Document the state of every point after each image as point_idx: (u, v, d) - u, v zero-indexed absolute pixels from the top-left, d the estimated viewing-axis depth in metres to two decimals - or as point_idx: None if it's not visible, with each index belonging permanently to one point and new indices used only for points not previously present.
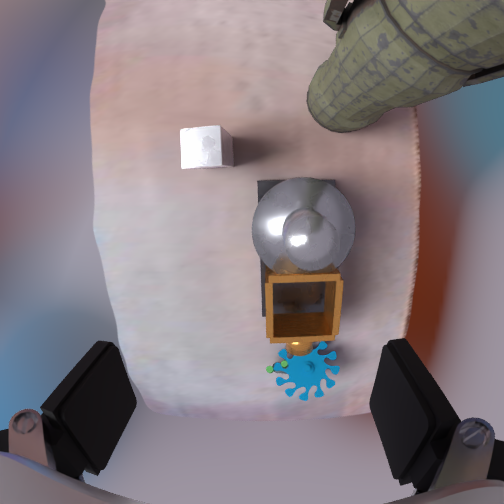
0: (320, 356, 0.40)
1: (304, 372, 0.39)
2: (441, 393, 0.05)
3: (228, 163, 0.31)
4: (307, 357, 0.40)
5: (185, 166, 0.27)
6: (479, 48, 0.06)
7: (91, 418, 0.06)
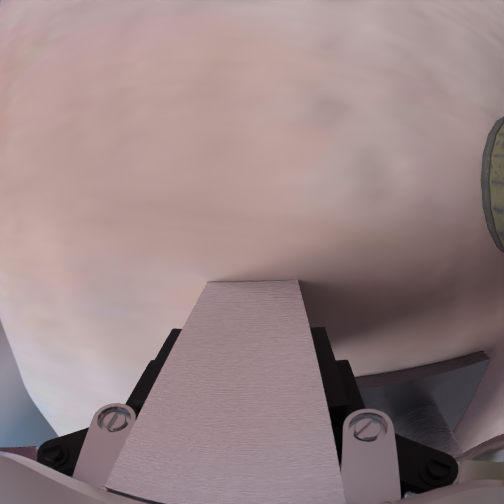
0: None
1: None
2: (339, 380, 0.07)
3: None
4: None
5: None
6: None
7: None
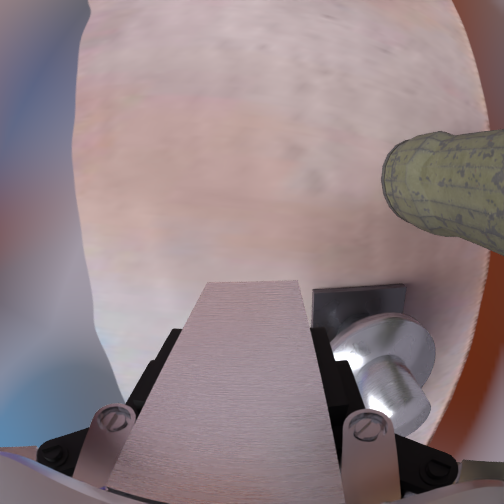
0: None
1: None
2: (339, 380, 0.07)
3: None
4: None
5: None
6: None
7: None
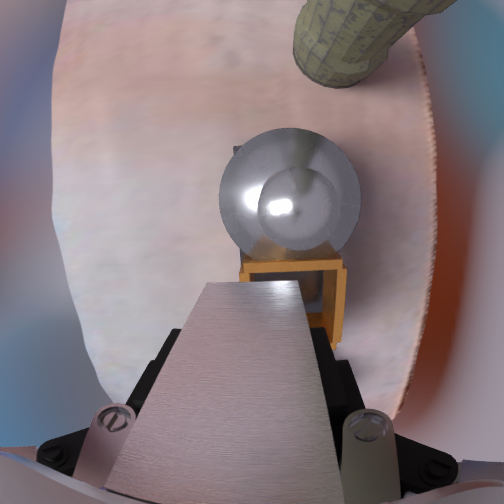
0: None
1: None
2: (339, 380, 0.07)
3: None
4: None
5: None
6: None
7: None
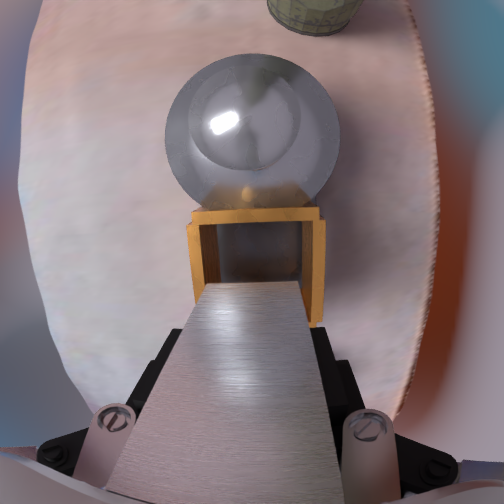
0: None
1: None
2: (339, 380, 0.07)
3: None
4: None
5: None
6: None
7: None
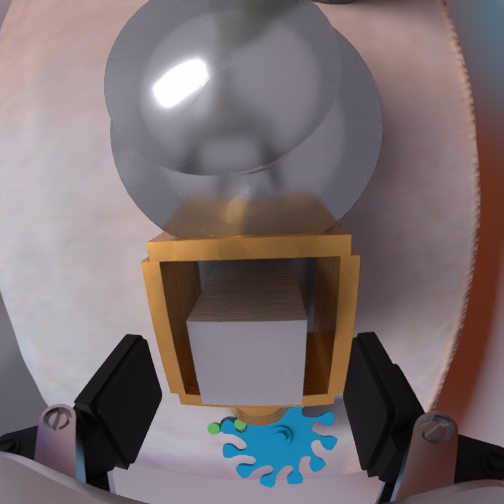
0: (306, 419, 0.21)
1: (274, 443, 0.20)
2: (403, 385, 0.06)
3: None
4: (282, 418, 0.21)
5: (210, 401, 0.10)
6: None
7: (123, 411, 0.07)
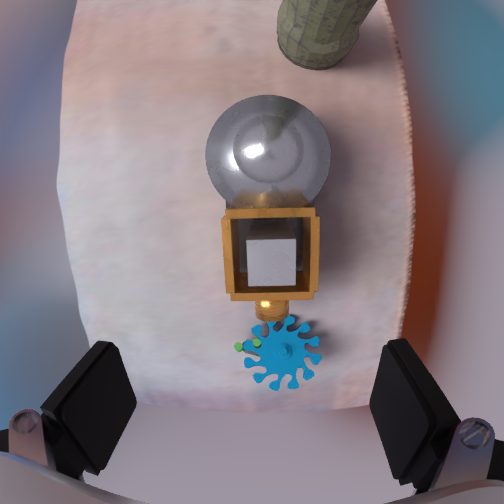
0: (300, 340, 0.35)
1: (279, 356, 0.34)
2: (441, 393, 0.05)
3: None
4: (285, 339, 0.35)
5: (252, 284, 0.24)
6: None
7: (91, 418, 0.06)
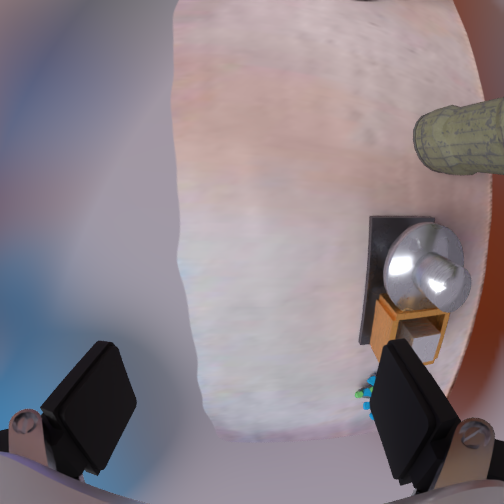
0: None
1: None
2: (441, 393, 0.05)
3: None
4: None
5: None
6: None
7: (91, 418, 0.06)
